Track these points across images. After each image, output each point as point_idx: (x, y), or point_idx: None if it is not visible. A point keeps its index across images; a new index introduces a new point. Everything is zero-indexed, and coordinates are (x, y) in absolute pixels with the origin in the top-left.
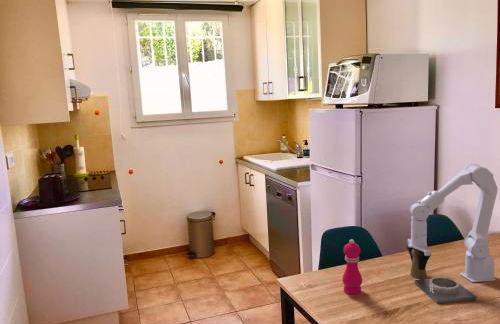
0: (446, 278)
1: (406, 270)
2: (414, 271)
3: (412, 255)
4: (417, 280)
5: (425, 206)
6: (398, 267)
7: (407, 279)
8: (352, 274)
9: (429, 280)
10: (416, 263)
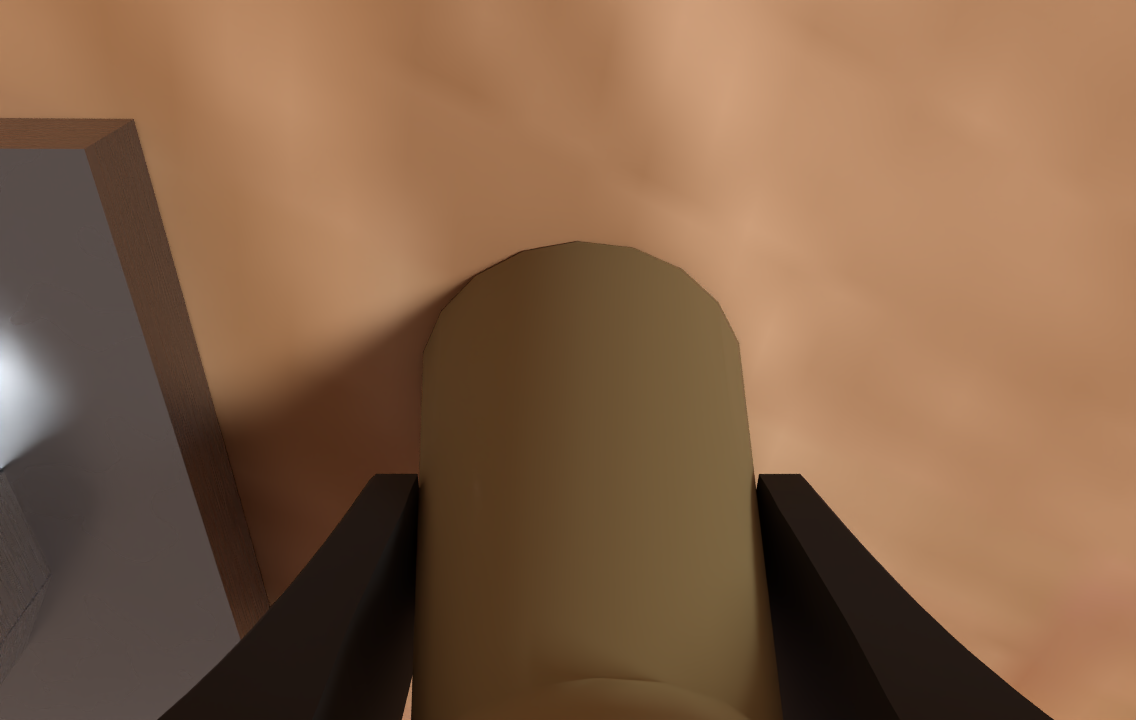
0: None
1: (887, 277)
2: (494, 349)
3: (627, 715)
4: (55, 203)
5: None
6: (1126, 177)
7: (392, 61)
8: None
9: (91, 442)
10: (459, 547)
